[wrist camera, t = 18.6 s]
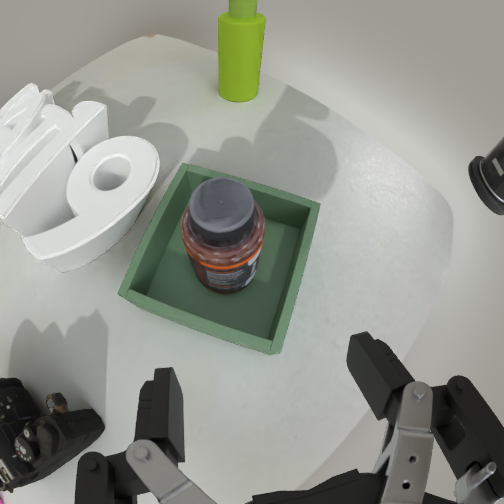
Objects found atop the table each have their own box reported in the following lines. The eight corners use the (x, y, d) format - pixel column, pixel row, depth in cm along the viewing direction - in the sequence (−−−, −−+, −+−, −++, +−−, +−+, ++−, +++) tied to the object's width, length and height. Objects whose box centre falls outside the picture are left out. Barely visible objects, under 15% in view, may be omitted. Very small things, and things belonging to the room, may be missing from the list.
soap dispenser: (207, 98, 37) (203, -25, 19) (231, 77, 40) (235, -33, 21) (243, 110, 37) (252, -22, 18) (264, 87, 39) (278, -28, 20)
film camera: (35, 336, 24) (-25, 319, 14) (116, 409, 22) (63, 426, 13) (-5, 439, 17) (-56, 445, 8) (65, 508, 16) (21, 537, 6)
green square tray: (307, 228, 30) (320, 203, 25) (270, 355, 25) (279, 353, 20) (188, 192, 31) (182, 162, 26) (136, 306, 26) (117, 293, 21)
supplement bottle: (268, 278, 27) (290, 223, 17) (211, 306, 26) (196, 267, 15) (238, 227, 29) (243, 152, 18) (184, 252, 28) (159, 186, 17)
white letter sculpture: (-10, 175, 31) (-42, 139, 21) (55, 110, 36) (34, 66, 26) (90, 322, 25) (28, 298, 15) (191, 206, 30) (176, 138, 21)
